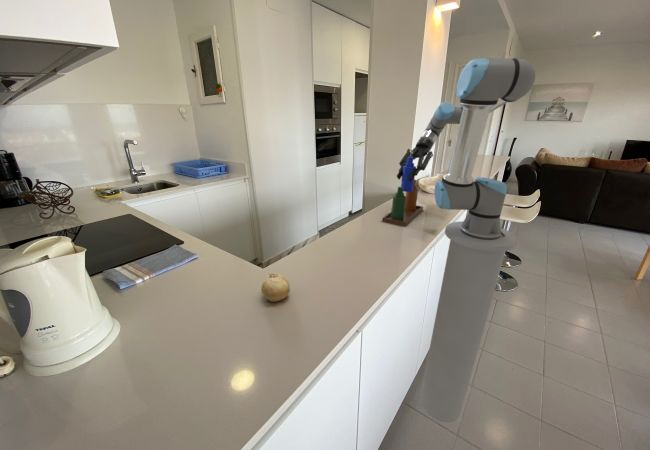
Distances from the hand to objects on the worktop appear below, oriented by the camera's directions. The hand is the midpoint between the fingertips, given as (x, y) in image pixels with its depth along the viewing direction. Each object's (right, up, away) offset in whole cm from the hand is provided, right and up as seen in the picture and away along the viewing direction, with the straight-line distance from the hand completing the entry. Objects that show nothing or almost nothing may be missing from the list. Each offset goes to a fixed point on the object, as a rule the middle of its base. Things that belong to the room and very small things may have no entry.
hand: (403, 178), depth 135 cm
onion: (-52, -43, -56) cm, 88 cm away
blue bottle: (+3, -5, +5) cm, 7 cm away
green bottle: (-3, -20, +1) cm, 20 cm away
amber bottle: (+8, -14, +17) cm, 23 cm away
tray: (+3, -18, +9) cm, 20 cm away
